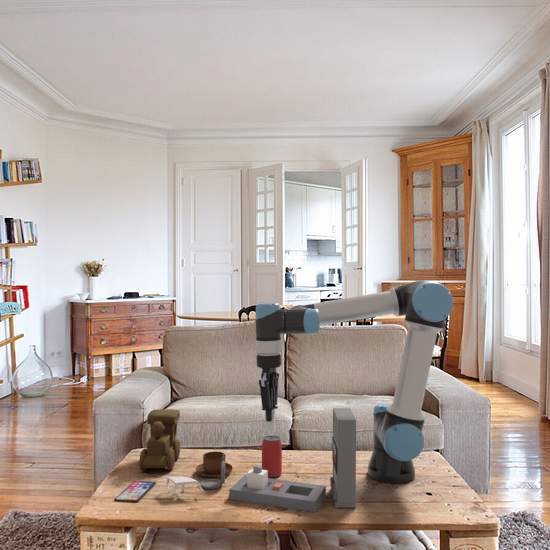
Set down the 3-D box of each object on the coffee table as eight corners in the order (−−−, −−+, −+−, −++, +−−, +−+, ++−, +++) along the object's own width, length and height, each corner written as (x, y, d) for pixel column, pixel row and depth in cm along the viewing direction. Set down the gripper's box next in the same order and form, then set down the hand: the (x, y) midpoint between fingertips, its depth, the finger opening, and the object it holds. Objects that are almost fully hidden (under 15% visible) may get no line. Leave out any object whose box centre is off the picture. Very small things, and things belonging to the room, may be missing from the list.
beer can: (282, 471, 187) (282, 435, 187) (280, 478, 181) (280, 441, 181) (262, 470, 188) (263, 434, 188) (260, 477, 182) (260, 440, 181)
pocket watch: (196, 485, 175) (196, 453, 175) (219, 479, 180) (219, 447, 180) (211, 493, 169) (211, 460, 169) (234, 486, 174) (234, 454, 174)
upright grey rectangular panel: (329, 489, 172) (330, 407, 172) (349, 489, 172) (350, 407, 172) (334, 508, 159) (334, 420, 158) (356, 508, 159) (356, 420, 158)
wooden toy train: (150, 454, 204) (151, 408, 204) (182, 454, 204) (182, 408, 204) (137, 474, 184) (137, 424, 184) (171, 474, 184) (172, 424, 184)
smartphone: (113, 499, 163) (134, 480, 178) (113, 502, 163) (134, 483, 178) (137, 500, 162) (156, 481, 177) (137, 504, 162) (156, 484, 177)
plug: (267, 493, 169) (267, 465, 169) (262, 498, 165) (262, 469, 165) (252, 491, 171) (252, 463, 171) (247, 496, 167) (247, 467, 167)
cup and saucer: (197, 467, 191) (197, 449, 191) (233, 467, 192) (233, 449, 192) (194, 480, 179) (194, 461, 179) (231, 480, 180) (232, 461, 180)
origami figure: (160, 502, 163) (160, 485, 163) (166, 490, 171) (167, 474, 171) (201, 503, 162) (201, 485, 162) (206, 491, 171) (206, 475, 171)
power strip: (325, 495, 167) (325, 483, 167) (315, 512, 156) (315, 498, 156) (244, 484, 176) (244, 472, 176) (229, 499, 164) (229, 486, 164)
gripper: (263, 350, 179) (265, 424, 179) (249, 356, 166) (251, 436, 166) (286, 350, 176) (288, 425, 177) (273, 357, 164) (275, 438, 164)
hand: (270, 430), depth 171 cm, fingers closed
